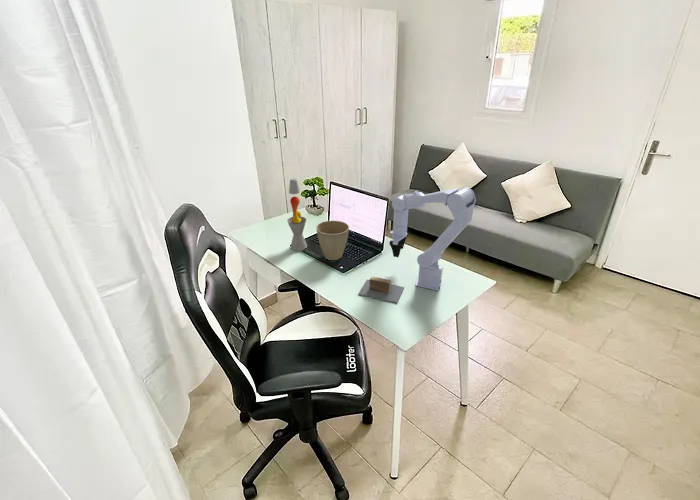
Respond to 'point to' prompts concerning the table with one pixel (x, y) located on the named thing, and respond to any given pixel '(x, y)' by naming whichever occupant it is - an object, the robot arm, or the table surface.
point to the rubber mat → (391, 297)
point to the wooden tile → (379, 284)
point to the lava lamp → (296, 220)
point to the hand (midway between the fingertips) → (398, 252)
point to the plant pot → (332, 238)
